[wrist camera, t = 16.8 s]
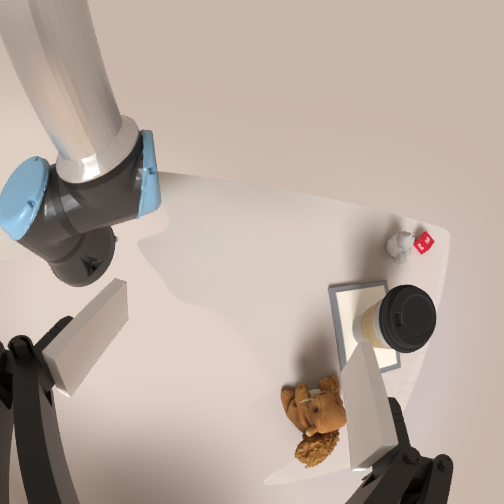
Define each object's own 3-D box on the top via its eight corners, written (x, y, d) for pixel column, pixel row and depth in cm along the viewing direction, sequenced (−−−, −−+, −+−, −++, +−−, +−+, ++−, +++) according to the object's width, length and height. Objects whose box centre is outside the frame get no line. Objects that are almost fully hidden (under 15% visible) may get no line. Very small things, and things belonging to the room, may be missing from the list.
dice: (418, 236, 54) (426, 231, 51) (427, 246, 53) (434, 241, 50) (412, 244, 53) (420, 238, 50) (421, 254, 52) (428, 249, 49)
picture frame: (328, 289, 48) (330, 287, 47) (384, 281, 50) (386, 279, 48) (341, 382, 42) (344, 383, 41) (398, 367, 44) (401, 367, 43)
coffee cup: (333, 322, 45) (373, 306, 31) (372, 294, 47) (418, 268, 33) (360, 366, 42) (408, 367, 28) (397, 335, 45) (449, 323, 31)
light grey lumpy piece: (402, 240, 53) (422, 223, 46) (405, 269, 51) (427, 255, 43) (381, 235, 53) (400, 218, 46) (383, 266, 51) (403, 251, 43)
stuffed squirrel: (336, 371, 43) (370, 374, 31) (340, 444, 38) (373, 467, 26) (279, 380, 42) (295, 389, 30) (285, 455, 37) (302, 486, 25)
